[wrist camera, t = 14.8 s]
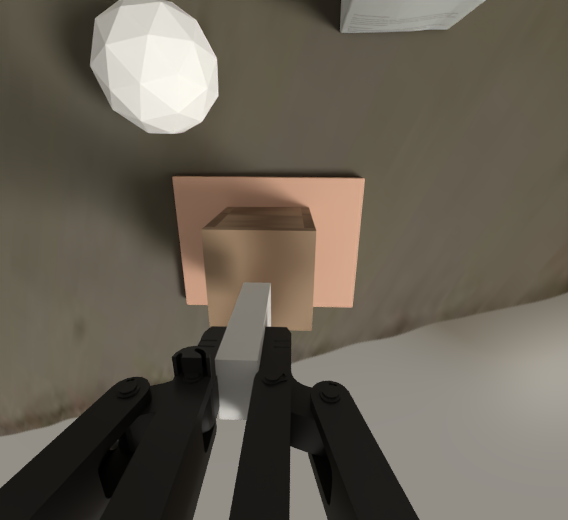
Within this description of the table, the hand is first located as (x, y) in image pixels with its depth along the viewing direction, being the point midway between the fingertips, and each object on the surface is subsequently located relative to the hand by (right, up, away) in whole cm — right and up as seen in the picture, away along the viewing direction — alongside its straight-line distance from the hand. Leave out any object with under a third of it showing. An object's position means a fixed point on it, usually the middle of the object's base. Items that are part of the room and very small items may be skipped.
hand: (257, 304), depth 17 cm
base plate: (0, +4, +11) cm, 12 cm away
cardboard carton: (0, +4, +10) cm, 11 cm away
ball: (-7, +16, +7) cm, 19 cm away
